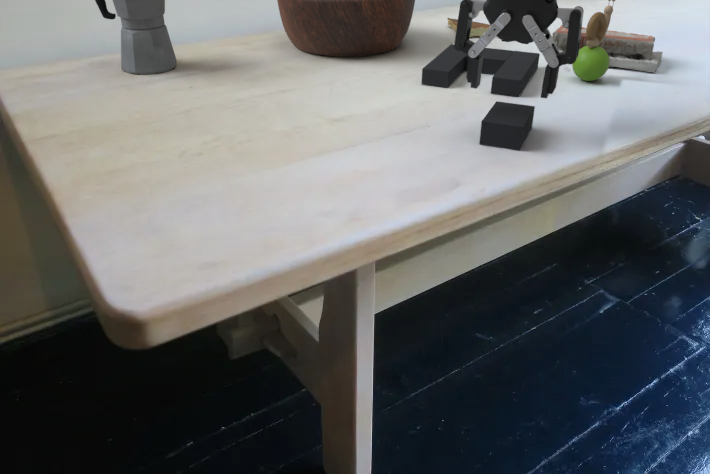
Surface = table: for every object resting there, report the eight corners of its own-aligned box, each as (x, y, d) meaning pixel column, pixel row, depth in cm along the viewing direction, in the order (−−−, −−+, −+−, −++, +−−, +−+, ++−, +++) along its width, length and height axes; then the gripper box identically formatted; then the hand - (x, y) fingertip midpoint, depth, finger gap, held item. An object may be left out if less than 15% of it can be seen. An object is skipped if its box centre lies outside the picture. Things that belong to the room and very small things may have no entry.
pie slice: (446, 25, 137) (447, 16, 136) (483, 24, 137) (483, 15, 136) (459, 38, 127) (460, 28, 126) (498, 37, 128) (499, 27, 127)
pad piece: (531, 128, 86) (535, 106, 85) (519, 150, 80) (523, 127, 78) (493, 122, 88) (496, 101, 86) (479, 144, 82) (481, 121, 80)
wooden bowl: (441, 48, 121) (445, -11, 115) (325, 70, 108) (323, 5, 103) (363, 22, 138) (363, -30, 133) (255, 39, 126) (251, -18, 121)
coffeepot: (198, 61, 113) (185, -53, 104) (173, 77, 105) (156, -45, 96) (117, 55, 116) (96, -56, 107) (86, 71, 108) (61, -49, 99)
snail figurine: (614, 78, 105) (630, -1, 99) (595, 87, 101) (611, 6, 95) (582, 71, 108) (596, -6, 102) (563, 80, 104) (576, 0, 98)
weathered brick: (548, 31, 112) (561, 19, 120) (544, 60, 114) (557, 46, 122) (662, 43, 105) (668, 30, 112) (655, 74, 107) (662, 59, 115)
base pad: (537, 68, 110) (539, 53, 109) (518, 97, 97) (521, 80, 96) (450, 58, 115) (451, 44, 114) (421, 84, 102) (422, 68, 101)
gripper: (456, -53, 72) (444, 92, 80) (592, -44, 68) (564, 109, 76) (473, -60, 78) (461, 75, 86) (599, -52, 74) (573, 90, 82)
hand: (509, 91), depth 81 cm, fingers open, 8 cm apart
